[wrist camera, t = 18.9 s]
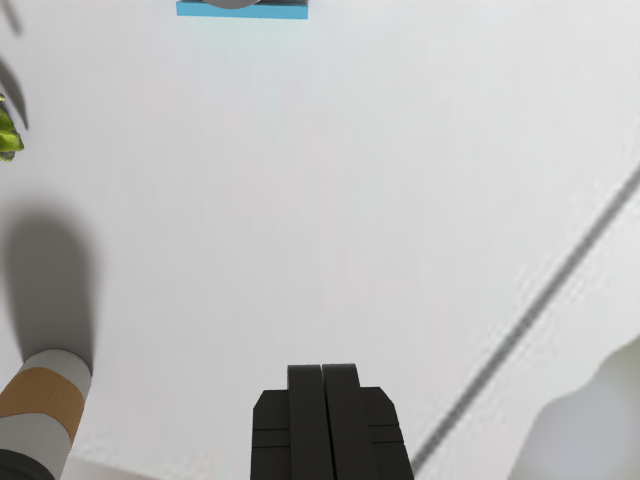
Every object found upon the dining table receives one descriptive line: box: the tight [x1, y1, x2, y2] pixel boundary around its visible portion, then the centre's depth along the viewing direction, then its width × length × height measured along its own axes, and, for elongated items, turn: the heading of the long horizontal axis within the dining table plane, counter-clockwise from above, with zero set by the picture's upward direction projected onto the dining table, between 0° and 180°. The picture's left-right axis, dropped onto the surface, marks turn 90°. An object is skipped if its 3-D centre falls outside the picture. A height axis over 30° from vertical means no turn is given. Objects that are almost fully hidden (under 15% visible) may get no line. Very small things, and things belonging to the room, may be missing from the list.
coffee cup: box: [0, 349, 91, 480], centre depth 46 cm, size 8×8×15 cm
